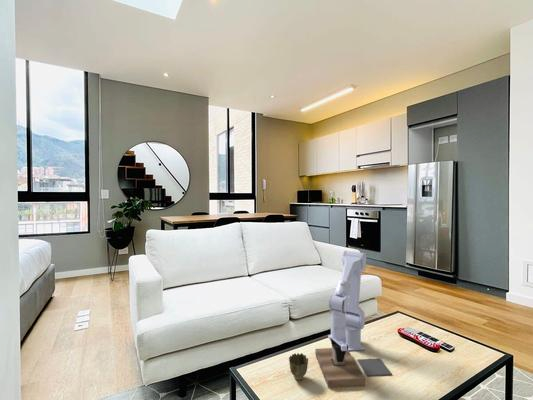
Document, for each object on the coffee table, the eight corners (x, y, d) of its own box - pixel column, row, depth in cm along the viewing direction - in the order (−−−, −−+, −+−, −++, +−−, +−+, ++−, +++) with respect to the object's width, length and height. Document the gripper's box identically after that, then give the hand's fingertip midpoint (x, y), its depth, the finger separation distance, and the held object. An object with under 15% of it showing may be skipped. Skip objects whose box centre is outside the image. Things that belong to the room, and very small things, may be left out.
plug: (331, 365, 117) (332, 346, 117) (341, 364, 117) (341, 345, 117) (334, 371, 113) (334, 352, 113) (344, 370, 113) (344, 351, 113)
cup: (285, 374, 112) (285, 355, 112) (302, 370, 115) (302, 351, 115) (294, 387, 105) (294, 366, 105) (311, 382, 108) (311, 361, 108)
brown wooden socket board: (315, 355, 125) (315, 348, 125) (346, 353, 126) (346, 347, 126) (328, 387, 105) (328, 380, 105) (364, 385, 106) (365, 378, 106)
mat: (357, 360, 121) (357, 359, 121) (380, 359, 122) (380, 358, 122) (367, 376, 111) (367, 375, 111) (391, 375, 112) (391, 373, 112)
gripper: (323, 317, 121) (323, 348, 122) (334, 335, 107) (333, 370, 108) (340, 316, 122) (339, 347, 122) (352, 334, 107) (352, 369, 108)
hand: (338, 357), depth 115 cm, fingers closed on plug, 4 cm apart
